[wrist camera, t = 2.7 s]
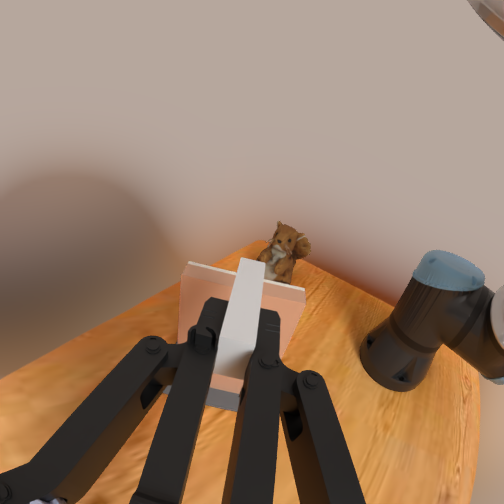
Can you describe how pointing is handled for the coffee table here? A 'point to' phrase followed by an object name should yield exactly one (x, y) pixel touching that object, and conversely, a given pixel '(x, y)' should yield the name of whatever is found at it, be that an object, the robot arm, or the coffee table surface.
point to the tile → (220, 286)
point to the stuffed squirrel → (283, 253)
